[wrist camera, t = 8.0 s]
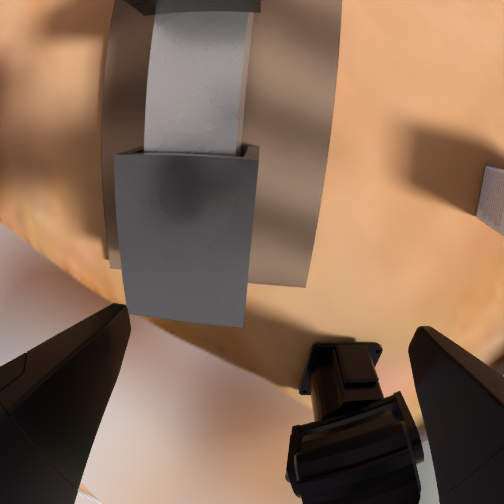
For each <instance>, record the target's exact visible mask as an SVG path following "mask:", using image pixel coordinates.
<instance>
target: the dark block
mask: <svg viewBox="0 0 504 504" xmlns="http://www.w3.org/2000/svg"><path fill="white" fill-rule="evenodd" d="M124 1H125V2H127V3H128V4H129V5H131V6H132V7H133V8H135V9H136V10H138V11H139V12H140V13H142V14H143V15H144V16H148V15H155V20H154V27H153V35H152V42H151V51H150V60H149V70H148V81H147V94H146V110H145V132H144V153H183V154H206V155H222V156H237V157H240V154H241V142H242V130H243V118H244V107H245V96H246V85H247V75H248V64H249V54H250V44H251V35H252V25H253V16H254V13H261V5H262V0H124Z"/></svg>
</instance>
